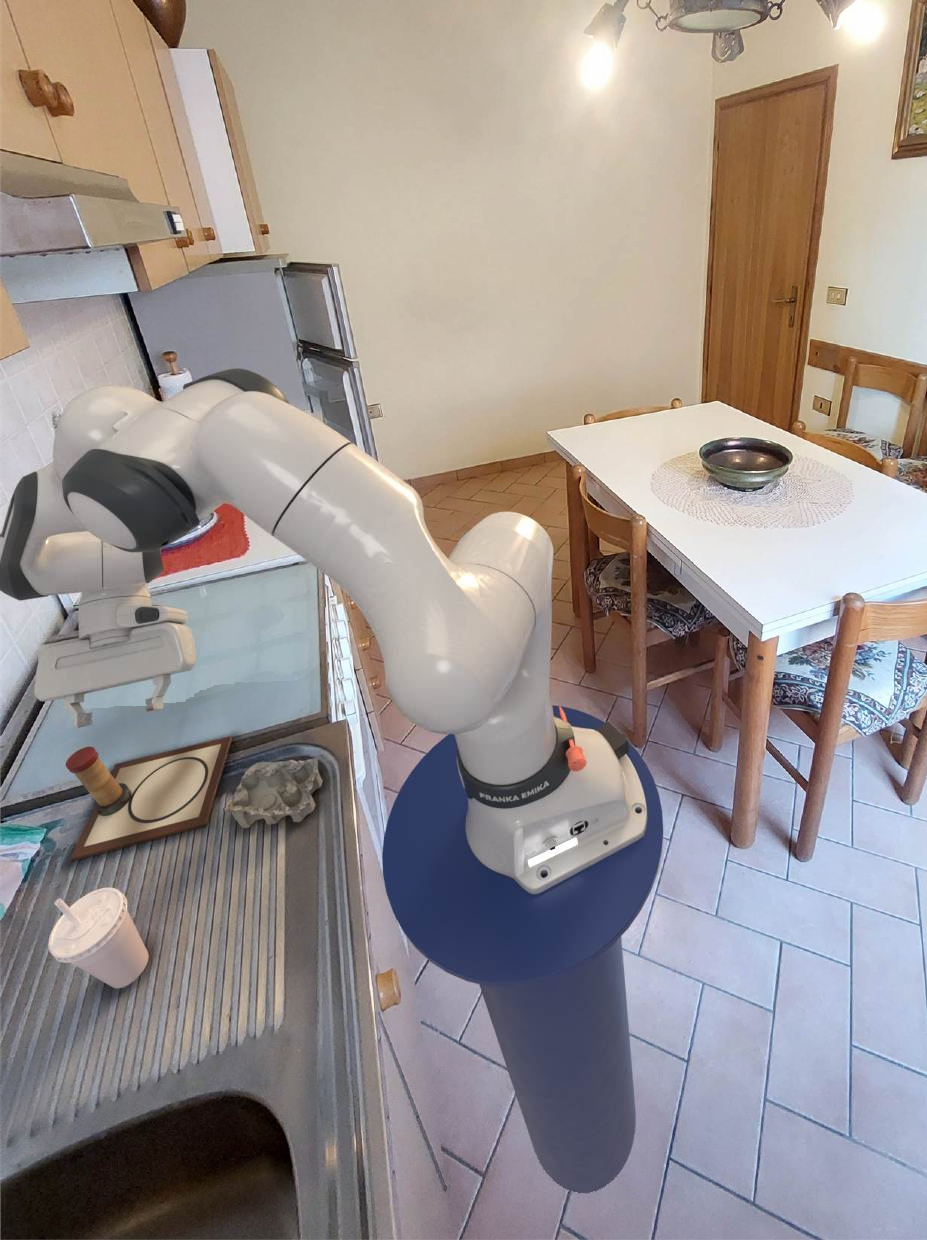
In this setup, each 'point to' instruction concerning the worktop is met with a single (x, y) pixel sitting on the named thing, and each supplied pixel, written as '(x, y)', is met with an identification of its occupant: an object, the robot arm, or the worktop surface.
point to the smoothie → (99, 938)
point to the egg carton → (276, 792)
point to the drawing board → (159, 798)
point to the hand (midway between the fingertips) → (119, 718)
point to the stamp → (98, 781)
